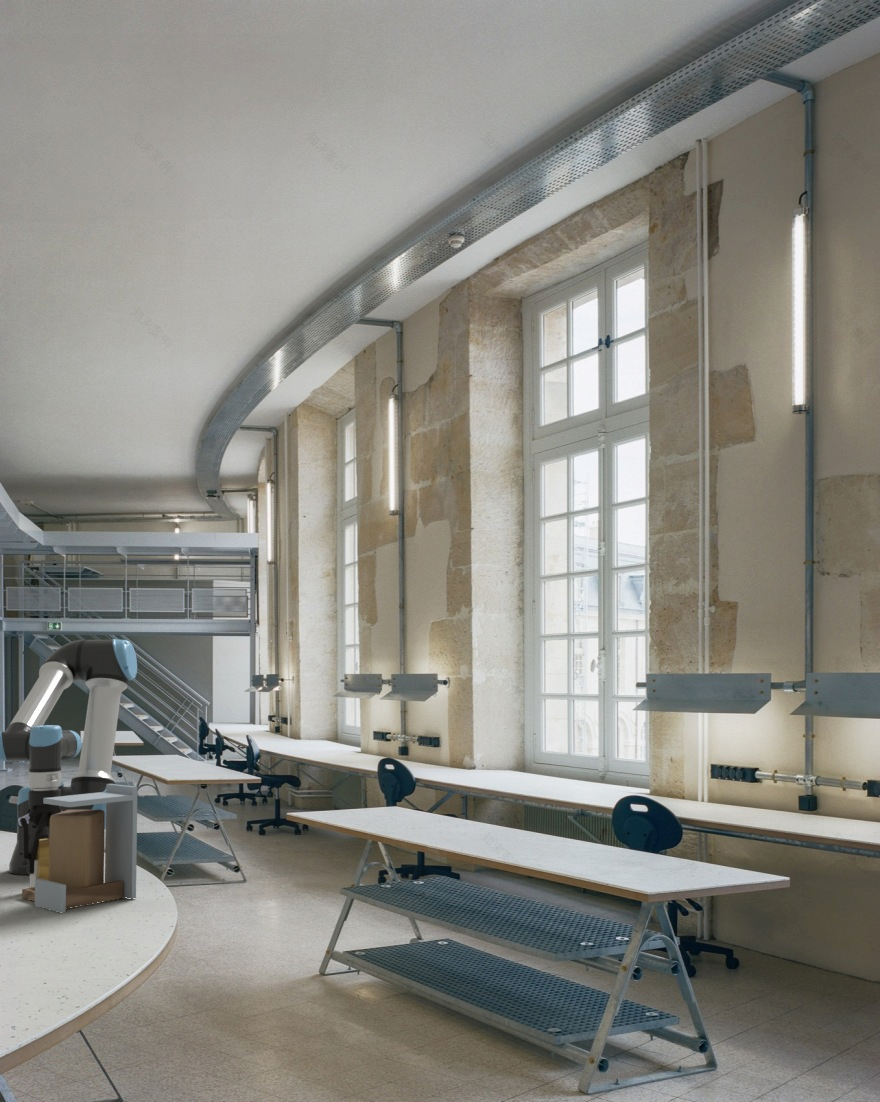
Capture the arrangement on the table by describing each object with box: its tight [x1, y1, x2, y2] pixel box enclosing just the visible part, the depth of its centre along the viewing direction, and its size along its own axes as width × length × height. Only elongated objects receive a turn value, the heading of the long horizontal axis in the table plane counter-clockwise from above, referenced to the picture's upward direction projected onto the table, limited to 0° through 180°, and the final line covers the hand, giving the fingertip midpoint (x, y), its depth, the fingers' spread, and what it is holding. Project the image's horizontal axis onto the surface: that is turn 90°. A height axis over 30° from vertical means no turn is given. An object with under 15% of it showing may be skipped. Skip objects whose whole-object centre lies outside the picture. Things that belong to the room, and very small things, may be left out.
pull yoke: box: [21, 839, 124, 909], centre depth 264 cm, size 26×15×12 cm, turn 48°
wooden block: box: [49, 810, 105, 890], centre depth 261 cm, size 10×10×20 cm
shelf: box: [34, 783, 138, 913], centre depth 258 cm, size 12×19×26 cm, turn 138°
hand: (42, 885), depth 271 cm, fingers closed on pull yoke, 4 cm apart
